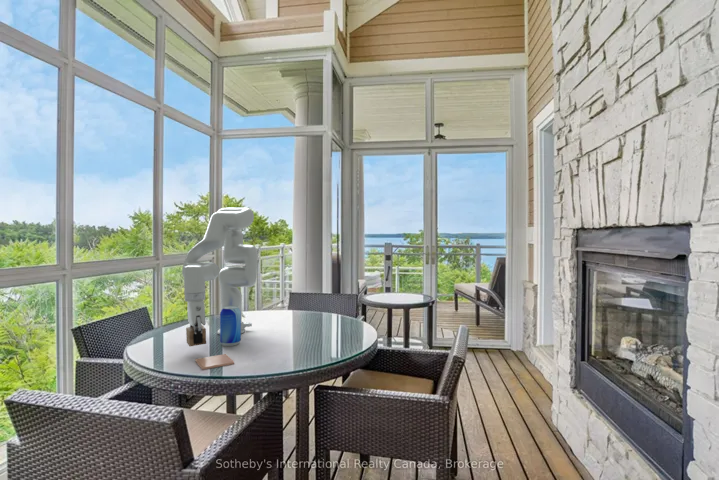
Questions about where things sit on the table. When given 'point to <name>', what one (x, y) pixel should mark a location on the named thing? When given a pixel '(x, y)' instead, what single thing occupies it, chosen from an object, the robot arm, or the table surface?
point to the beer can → (230, 326)
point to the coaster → (214, 361)
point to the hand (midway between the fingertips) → (196, 340)
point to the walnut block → (191, 339)
